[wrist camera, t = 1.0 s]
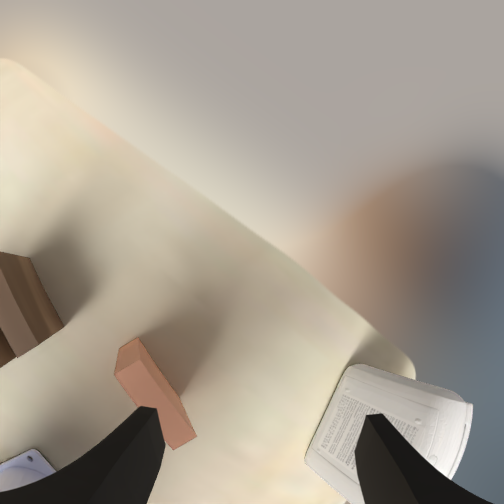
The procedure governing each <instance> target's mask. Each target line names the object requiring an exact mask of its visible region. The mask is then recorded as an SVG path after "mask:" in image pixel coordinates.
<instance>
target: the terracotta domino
mask: <svg viewBox="0 0 504 504" xmlns="http://www.w3.org/2000/svg"><path fill="white" fill-rule="evenodd" d="M114 375H115V377H116V378H117V380H118V381H119V382H120V384H121V385H122V387H123V388H124V389H125V391H126V392H127V394H128V395H129V396H130V398H131V399H132V400H133V402H134V403H135V404H136V406H137V407H138V408H139V407H140V406H145V407H151V408H157V411H158V416H159V420H160V425H161V429H162V433H163V437H164V440H165V441H166V443H167V444H168V445H169V446H170V447H171V448H172V450H175V449H176V448H178V447H180V446H182V445H183V444H185V443H187V442H188V441H190V440H192V439H193V438H195V437H197V435H196V433H195V431H194V429H193V427H192V425H191V423H190V420H189V418H188V416H187V414H186V412H185V409H184V407H183V405H182V403H181V400H180V398H179V397H178V395H177V394H176V392H175V391H174V390H173V388H172V387H171V386H170V384H169V383H168V381H167V380H166V378H165V377H164V376H163V374H162V373H161V371H160V370H159V368H158V367H157V365H156V364H155V362H154V361H153V359H152V358H151V356H150V355H149V353H148V352H147V350H146V349H145V347H144V346H143V344H142V343H141V341H140V339H139V338H136V339H134V340H133V341H131V342H129V343H128V344H126V345H124V346H123V347H121V348H119V352H118V357H117V362H116V367H115V373H114Z"/></svg>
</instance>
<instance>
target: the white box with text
mask: <svg viewBox="0 0 504 504" xmlns="http://www.w3.org/2000/svg"><path fill="white" fill-rule="evenodd" d="M380 413H383V415H384V416H385V417H386V418H387V419H388V420H389V421H390V422H391V423H392V425H393V426H394V427H395V428H396V429H397V430H398V431H399V432H400V433H401V435H402V436H403V437H404V438H405V439H406V440H407V441H408V442H409V443H410V444H411V445H412V446H413V447H414V448H415V449H416V450H417V451H418V452H419V453H420V454H421V455H422V456H423V457H424V458H425V459H426V460H427V461H428V462H429V463H430V464H431V465H433V466H434V467H435V468H436V469H437V470H438V471H440V472H441V473H442V474H443V475H445V476H446V477H447V478H449V479H450V480H451V479H452V477H453V476H454V474H455V472H456V469H457V468H458V465H459V463H460V461H461V458H462V456H463V453H464V450H465V447H466V443H467V440H468V437H469V432H470V427H471V422H472V413H473V404H471V403H467V402H464V400H463V399H462V398H461V397H460V396H459V395H458V394H456V393H455V392H453V391H451V390H448V389H444V388H441V387H437V386H433V385H430V384H427V383H423V382H420V381H417V380H413V379H410V378H407V377H403V376H400V375H397V374H394V373H390V372H387V371H384V370H381V369H378V368H375V367H371V366H368V365H365V364H355V365H352V366H349V367H348V368H347V369H346V370H345V372H344V374H343V376H342V378H341V379H340V382H339V384H338V386H337V388H336V390H335V393H334V395H333V397H332V399H331V401H330V404H329V406H328V408H327V410H326V412H325V414H324V416H323V419H322V421H321V423H320V425H319V427H318V429H317V431H316V433H315V435H314V437H313V440H312V442H311V444H310V446H309V448H308V450H307V453H306V456H305V459H304V462H305V464H306V465H307V466H308V467H309V468H310V469H311V470H313V471H314V472H315V473H316V474H317V475H318V476H319V477H320V478H322V479H323V480H324V481H325V482H326V483H327V484H328V485H330V486H331V487H332V488H333V489H334V490H335V491H337V492H338V493H339V494H340V495H341V496H343V497H344V498H345V499H346V500H347V501H349V502H350V503H351V504H365V502H364V499H363V495H362V491H361V487H360V484H359V480H358V476H357V470H356V462H355V454H354V450H355V448H356V445H357V442H358V439H359V436H360V433H361V430H362V427H363V423H364V420H365V417H366V415H370V414H380Z"/></svg>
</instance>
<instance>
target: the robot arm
mask: <svg viewBox="0 0 504 504" xmlns="http://www.w3.org/2000/svg"><path fill="white" fill-rule="evenodd" d="M164 449H165V441H164V437H163V433H162V429H161V425H160V420H159V416H158V411H157V408H151V407H145V406H140V407H139V408H138V409H136V410H135V411H134V412H133V413H132V414H131V415H130V416H129V417H128V418H127V419H126V420H125V421H124V422H123V423H122V424H120V425H119V426H118V427H117V428H116V429H115V430H114V431H113V432H112V433H110V434H109V435H108V436H107V437H106V438H105V439H103V440H102V441H101V442H100V443H99V444H97V445H96V446H95V447H94V448H92V449H91V450H90V451H88V452H87V453H86V454H84V455H83V456H82V457H80V458H79V459H77V460H76V461H74V462H73V463H71V464H69V465H68V466H66V467H64V468H63V469H61V470H59V471H57V472H56V471H55V470H54V468H53V467H52V466H51V465H50V464H49V463H48V462H47V461H46V459H45V458H44V457H43V456H42V455H41V454H40V452H38V451H37V450H35V449H31V450H29V451H27V452H25V453H23V454H20V455H18V456H16V457H14V458H12V459H10V460H8V461H6V462H4V463H2V464H0V504H147V501H148V498H149V496H150V493H151V491H152V488H153V486H154V483H155V480H156V478H157V475H158V472H159V470H160V467H161V462H162V458H163V454H164ZM354 454H355V462H356V470H357V476H358V480H359V484H360V487H361V491H362V495H363V499H364V502H365V504H493V503H491V502H488V501H486V500H484V499H482V498H480V497H478V496H476V495H474V494H472V493H470V492H469V491H467V490H465V489H464V488H462V487H460V486H459V485H457V484H455V483H454V482H453V481H452V480H450V479H449V478H447V477H446V476H445V475H443V474H442V473H441V472H440V471H438V470H437V469H436V468H435V467H434V466H433V465H431V464H430V463H429V462H428V461H427V460H426V459H425V458H424V457H423V456H422V455H421V454H420V453H419V452H418V451H417V450H416V449H415V448H414V447H413V446H412V445H411V444H410V443H409V442H408V441H407V440H406V439H405V438H404V437H403V436H402V435H401V433H400V432H399V431H398V430H397V429H396V428H395V427H394V426H393V425H392V423H391V422H390V421H389V420H388V419H387V418H386V417H385V416H384V415H383V413H380V414H370V415H366V417H365V420H364V423H363V427H362V430H361V433H360V436H359V439H358V442H357V445H356V448H355V450H354ZM28 456H31V457H32V458H33V459H30V458H29V457H28Z"/></svg>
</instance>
